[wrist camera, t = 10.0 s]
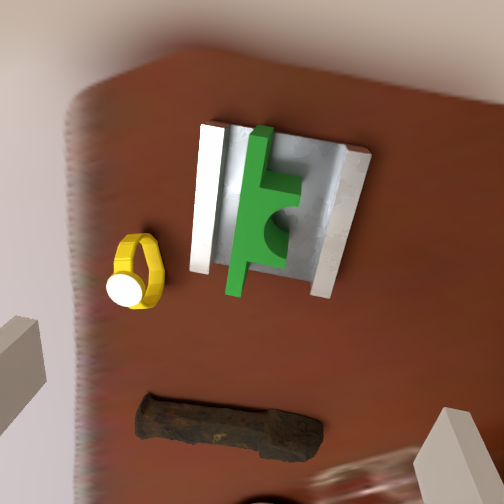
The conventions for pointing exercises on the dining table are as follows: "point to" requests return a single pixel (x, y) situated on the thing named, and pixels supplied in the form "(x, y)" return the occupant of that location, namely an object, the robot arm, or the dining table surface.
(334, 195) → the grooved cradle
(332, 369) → the dining table surface
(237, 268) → the pipe clamp
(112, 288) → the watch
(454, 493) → the robot arm
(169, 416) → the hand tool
